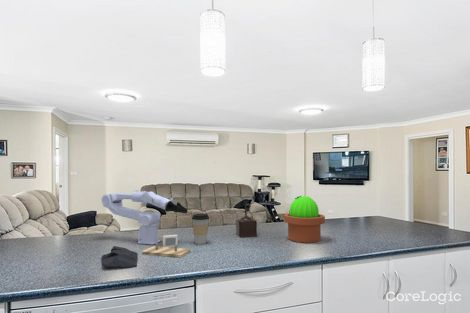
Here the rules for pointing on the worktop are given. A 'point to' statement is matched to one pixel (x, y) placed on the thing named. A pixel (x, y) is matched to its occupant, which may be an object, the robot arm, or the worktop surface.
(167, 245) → the white rectangular block
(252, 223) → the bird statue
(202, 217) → the coffee cup
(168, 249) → the ledge
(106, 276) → the worktop surface
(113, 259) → the dark slate chunk
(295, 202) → the potted cactus
